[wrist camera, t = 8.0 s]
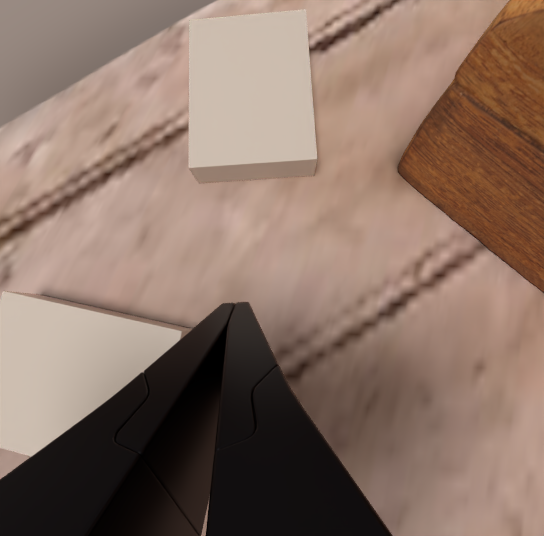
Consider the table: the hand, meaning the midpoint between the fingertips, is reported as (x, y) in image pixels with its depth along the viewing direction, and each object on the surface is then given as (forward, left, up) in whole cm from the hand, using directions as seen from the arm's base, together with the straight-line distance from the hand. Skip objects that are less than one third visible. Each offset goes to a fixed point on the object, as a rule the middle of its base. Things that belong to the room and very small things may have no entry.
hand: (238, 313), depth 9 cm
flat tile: (+7, +9, -10) cm, 15 cm away
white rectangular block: (+5, -8, -9) cm, 13 cm away
